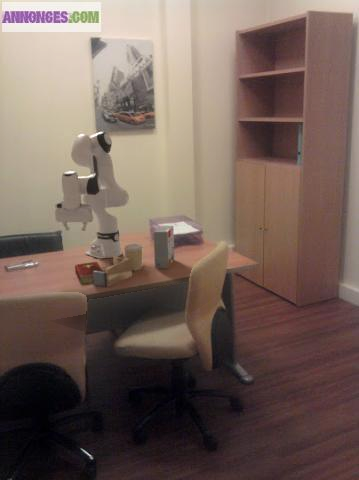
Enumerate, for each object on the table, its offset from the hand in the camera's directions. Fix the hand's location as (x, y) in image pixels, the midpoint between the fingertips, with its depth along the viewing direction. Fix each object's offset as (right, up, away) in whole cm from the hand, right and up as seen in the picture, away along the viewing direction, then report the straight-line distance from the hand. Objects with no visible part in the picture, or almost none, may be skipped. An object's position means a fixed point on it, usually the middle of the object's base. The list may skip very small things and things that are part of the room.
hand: (75, 230), depth 237 cm
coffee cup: (+29, -20, +10) cm, 37 cm away
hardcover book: (+7, -24, +2) cm, 25 cm away
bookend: (+15, -27, -14) cm, 34 cm away
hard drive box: (+46, -18, +15) cm, 51 cm away
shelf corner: (+20, -25, -6) cm, 32 cm away
